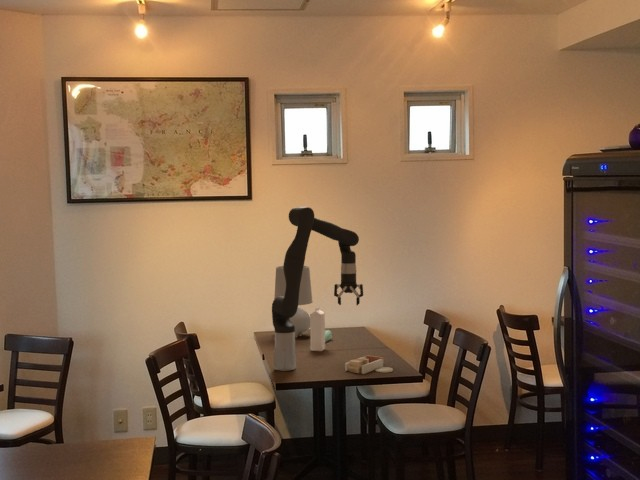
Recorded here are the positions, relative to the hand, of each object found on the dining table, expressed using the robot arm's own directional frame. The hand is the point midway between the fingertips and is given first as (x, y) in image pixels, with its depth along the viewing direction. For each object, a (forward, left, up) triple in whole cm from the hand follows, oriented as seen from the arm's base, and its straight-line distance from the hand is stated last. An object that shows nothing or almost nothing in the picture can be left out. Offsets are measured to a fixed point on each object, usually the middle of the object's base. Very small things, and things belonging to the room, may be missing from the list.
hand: (348, 305), depth 345 cm
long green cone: (+13, +29, -26) cm, 40 cm away
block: (-22, -21, -25) cm, 40 cm away
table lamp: (+23, +55, -25) cm, 65 cm away
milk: (+2, +21, -25) cm, 33 cm away
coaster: (-16, -31, -25) cm, 43 cm away
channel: (-18, -21, -25) cm, 37 cm away
